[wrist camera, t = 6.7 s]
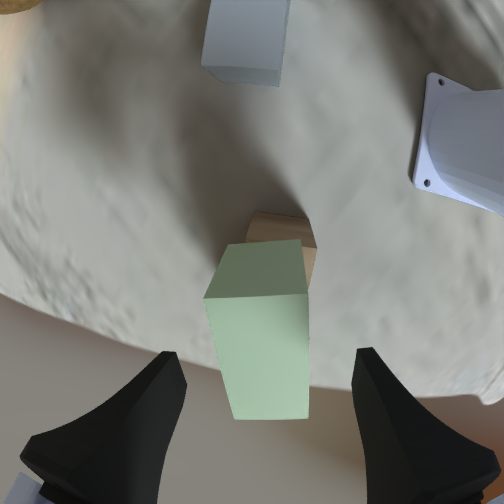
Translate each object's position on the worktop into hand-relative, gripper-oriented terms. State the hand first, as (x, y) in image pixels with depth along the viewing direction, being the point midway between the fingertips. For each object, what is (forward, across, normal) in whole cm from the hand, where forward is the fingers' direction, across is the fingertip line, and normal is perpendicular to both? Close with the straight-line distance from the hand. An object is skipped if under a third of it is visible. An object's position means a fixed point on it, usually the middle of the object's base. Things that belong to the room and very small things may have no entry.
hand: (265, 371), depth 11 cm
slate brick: (+10, 0, -15) cm, 18 cm away
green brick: (+5, 0, 0) cm, 5 cm away
